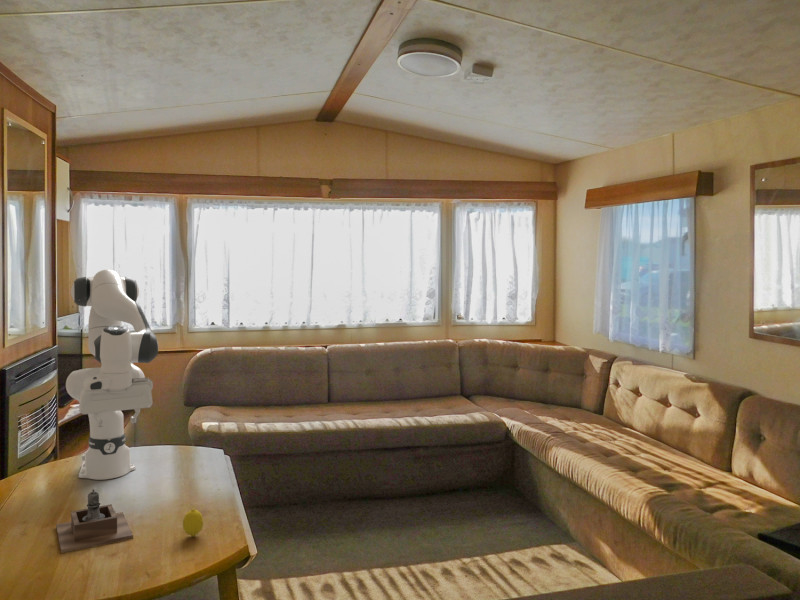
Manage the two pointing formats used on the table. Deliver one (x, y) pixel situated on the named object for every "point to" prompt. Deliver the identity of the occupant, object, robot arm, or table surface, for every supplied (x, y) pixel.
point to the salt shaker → (93, 507)
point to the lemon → (193, 522)
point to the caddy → (93, 530)
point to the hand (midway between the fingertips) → (116, 424)
